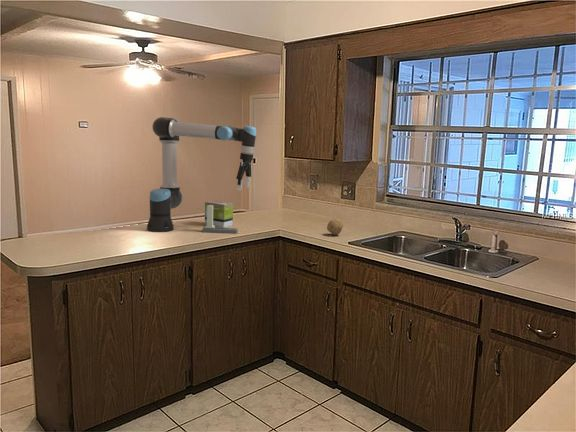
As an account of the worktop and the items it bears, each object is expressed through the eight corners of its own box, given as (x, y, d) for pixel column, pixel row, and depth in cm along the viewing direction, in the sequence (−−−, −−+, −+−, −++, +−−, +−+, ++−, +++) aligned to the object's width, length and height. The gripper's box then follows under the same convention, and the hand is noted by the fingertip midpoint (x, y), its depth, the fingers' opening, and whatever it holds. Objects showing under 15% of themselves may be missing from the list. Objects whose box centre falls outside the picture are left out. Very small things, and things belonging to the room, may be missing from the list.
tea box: (204, 225, 293) (204, 201, 290) (213, 223, 302) (214, 200, 299) (223, 228, 286) (224, 204, 283) (233, 225, 295) (233, 202, 292)
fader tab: (205, 228, 272) (205, 205, 270) (206, 226, 276) (206, 205, 273) (213, 228, 272) (213, 206, 270) (214, 227, 276) (215, 205, 273)
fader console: (202, 232, 271) (202, 228, 271) (204, 230, 277) (204, 226, 277) (236, 233, 271) (236, 230, 271) (237, 231, 277) (237, 228, 276)
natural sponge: (329, 237, 271) (330, 220, 269) (324, 234, 279) (325, 217, 278) (344, 236, 273) (345, 220, 272) (338, 233, 282) (339, 217, 280)
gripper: (246, 155, 260) (241, 193, 265) (259, 152, 284) (254, 187, 289) (233, 153, 261) (229, 190, 266) (247, 150, 285) (243, 184, 290)
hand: (242, 188), depth 277 cm, fingers open, 13 cm apart
